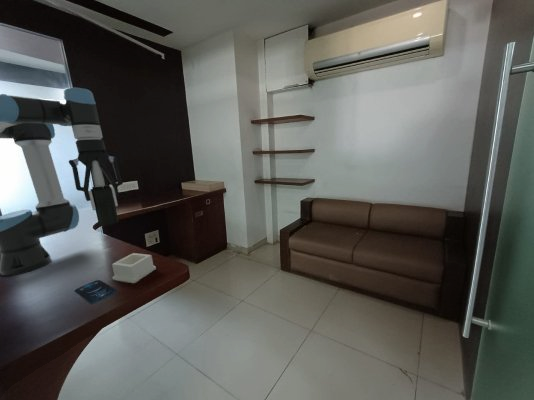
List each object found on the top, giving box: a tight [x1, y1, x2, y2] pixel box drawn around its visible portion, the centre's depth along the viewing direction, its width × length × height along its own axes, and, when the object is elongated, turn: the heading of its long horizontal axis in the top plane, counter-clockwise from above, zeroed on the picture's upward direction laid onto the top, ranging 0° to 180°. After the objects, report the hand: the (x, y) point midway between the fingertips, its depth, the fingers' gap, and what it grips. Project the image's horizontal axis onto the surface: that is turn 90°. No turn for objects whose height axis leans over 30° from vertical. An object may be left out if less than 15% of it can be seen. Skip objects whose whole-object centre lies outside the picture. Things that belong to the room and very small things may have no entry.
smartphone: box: [74, 279, 118, 305], centre depth 78 cm, size 8×1×15 cm
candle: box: [89, 161, 120, 227], centre depth 81 cm, size 5×5×25 cm
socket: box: [111, 252, 157, 284], centre depth 86 cm, size 10×10×6 cm
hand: (105, 207), depth 82 cm, fingers closed on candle, 6 cm apart
